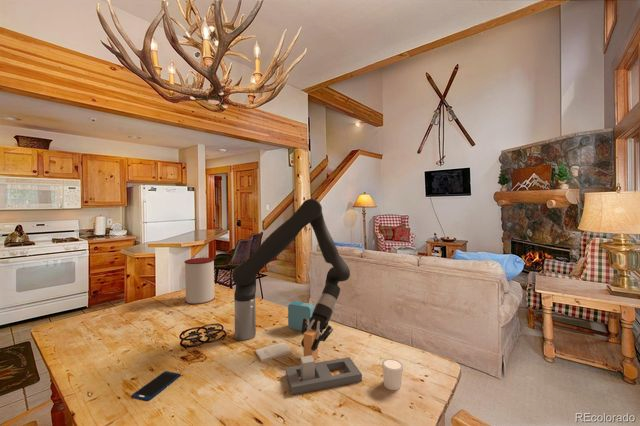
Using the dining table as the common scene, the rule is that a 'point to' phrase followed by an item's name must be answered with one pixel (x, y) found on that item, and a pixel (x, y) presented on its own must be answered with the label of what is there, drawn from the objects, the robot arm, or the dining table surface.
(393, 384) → the shot glass
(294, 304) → the data package
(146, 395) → the cell phone
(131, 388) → the dining table surface
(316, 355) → the plug
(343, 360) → the grey block holder
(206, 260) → the container
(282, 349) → the external hard drive
